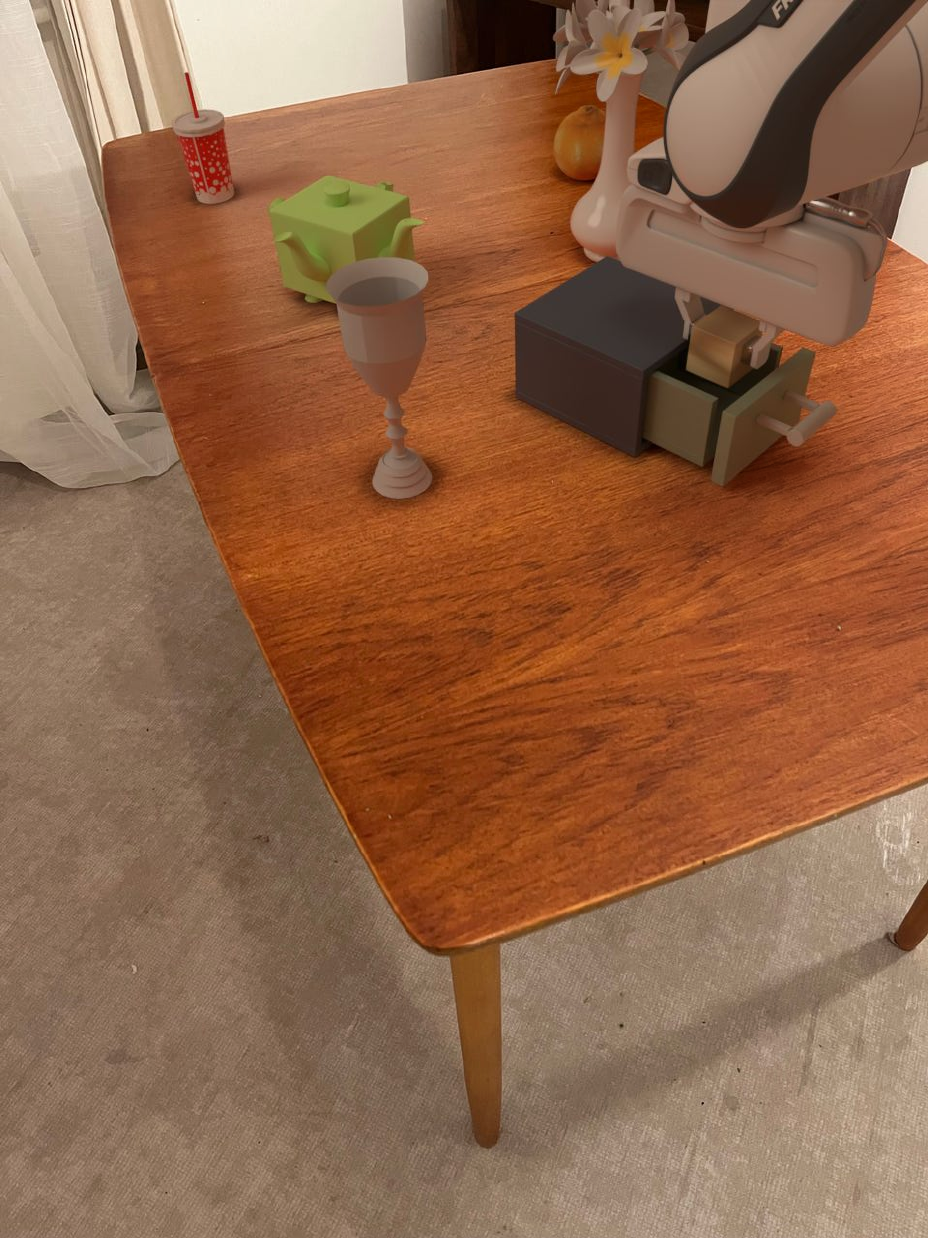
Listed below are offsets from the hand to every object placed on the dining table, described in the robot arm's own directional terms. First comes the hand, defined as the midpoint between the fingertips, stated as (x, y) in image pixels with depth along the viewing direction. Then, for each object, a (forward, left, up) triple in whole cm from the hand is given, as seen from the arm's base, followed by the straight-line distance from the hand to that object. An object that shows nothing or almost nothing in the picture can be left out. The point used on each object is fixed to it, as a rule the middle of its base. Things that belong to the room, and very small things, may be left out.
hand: (723, 350), depth 78 cm
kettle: (+37, -21, -9) cm, 43 cm away
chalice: (+25, +8, -9) cm, 28 cm away
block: (0, 0, -2) cm, 2 cm away
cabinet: (+8, -6, -9) cm, 13 cm away
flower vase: (+11, -33, -9) cm, 36 cm away
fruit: (+15, -52, -9) cm, 54 cm away
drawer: (-1, 0, -8) cm, 8 cm away
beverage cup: (+60, -43, -9) cm, 74 cm away
